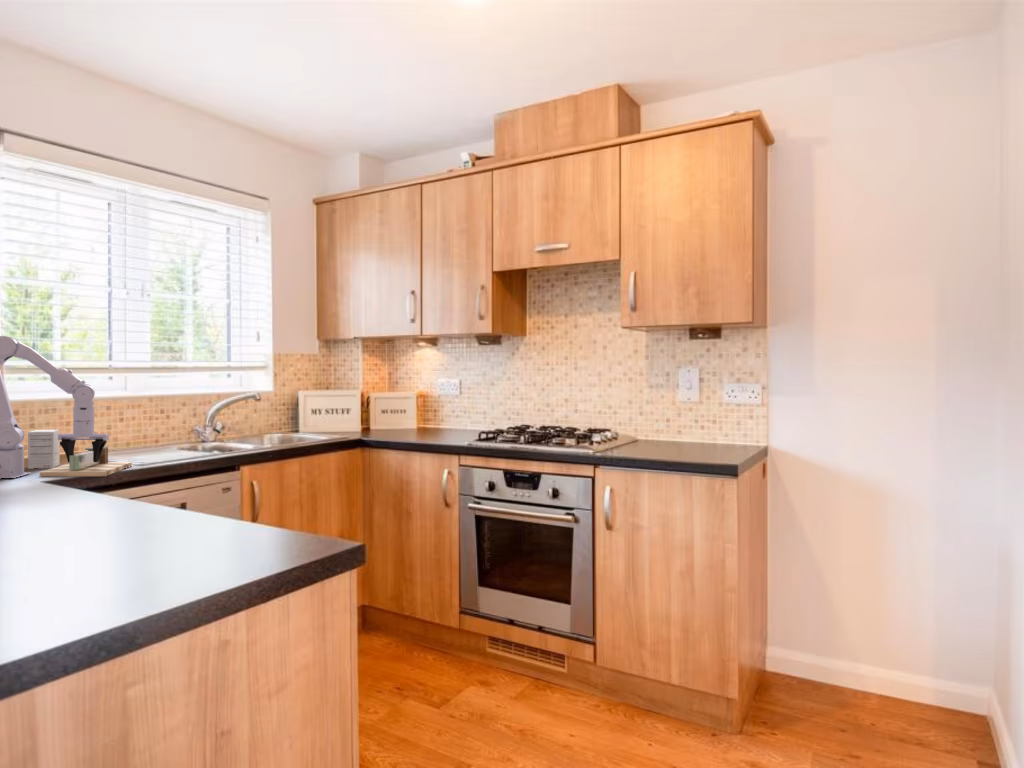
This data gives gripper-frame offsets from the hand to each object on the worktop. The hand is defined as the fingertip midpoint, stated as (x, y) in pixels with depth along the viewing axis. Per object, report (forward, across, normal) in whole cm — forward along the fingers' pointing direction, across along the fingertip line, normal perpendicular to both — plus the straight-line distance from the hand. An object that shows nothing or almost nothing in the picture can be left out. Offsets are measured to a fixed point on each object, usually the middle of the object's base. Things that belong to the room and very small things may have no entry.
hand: (83, 461), depth 207 cm
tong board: (+3, +1, +2) cm, 4 cm away
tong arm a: (+2, +1, +1) cm, 2 cm away
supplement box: (+4, -18, +12) cm, 22 cm away
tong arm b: (+2, -1, +1) cm, 2 cm away
